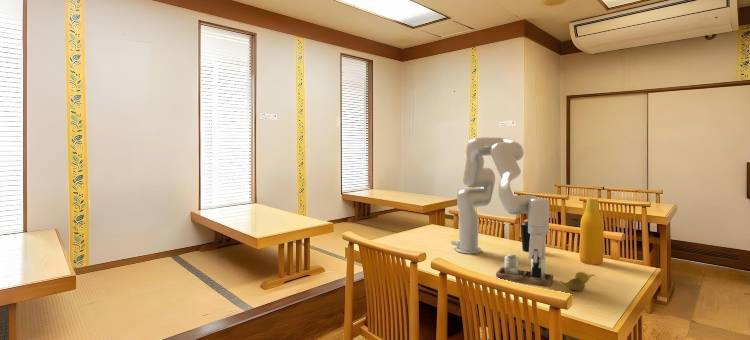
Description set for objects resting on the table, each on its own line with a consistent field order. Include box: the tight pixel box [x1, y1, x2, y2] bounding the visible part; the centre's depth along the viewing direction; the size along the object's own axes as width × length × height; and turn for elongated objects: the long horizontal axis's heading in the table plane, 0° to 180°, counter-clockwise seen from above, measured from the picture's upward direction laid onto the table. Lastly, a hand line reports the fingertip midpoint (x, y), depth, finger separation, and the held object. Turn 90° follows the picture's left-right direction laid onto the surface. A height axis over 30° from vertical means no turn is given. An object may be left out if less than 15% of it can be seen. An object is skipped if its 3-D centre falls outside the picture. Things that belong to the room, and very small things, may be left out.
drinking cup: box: [519, 216, 530, 253], centre depth 194 cm, size 8×8×20 cm
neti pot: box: [559, 271, 596, 291], centre depth 142 cm, size 4×15×6 cm, turn 104°
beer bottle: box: [579, 197, 605, 266], centre depth 174 cm, size 9×9×29 cm
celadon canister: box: [530, 256, 546, 280], centre depth 152 cm, size 5×5×9 cm
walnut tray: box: [495, 253, 554, 288], centre depth 154 cm, size 20×9×9 cm, turn 59°
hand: (537, 274), depth 152 cm, fingers closed on celadon canister, 5 cm apart
